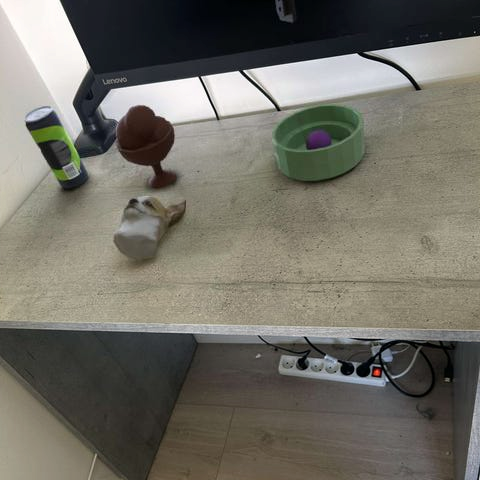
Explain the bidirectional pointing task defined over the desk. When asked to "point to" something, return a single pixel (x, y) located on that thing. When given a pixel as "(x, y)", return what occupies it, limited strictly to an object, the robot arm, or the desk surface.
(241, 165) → the desk surface
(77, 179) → the beverage can
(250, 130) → the desk surface
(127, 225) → the ceramic sculpture
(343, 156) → the green bowl
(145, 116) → the ice cream bowl
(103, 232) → the desk surface
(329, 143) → the ball
